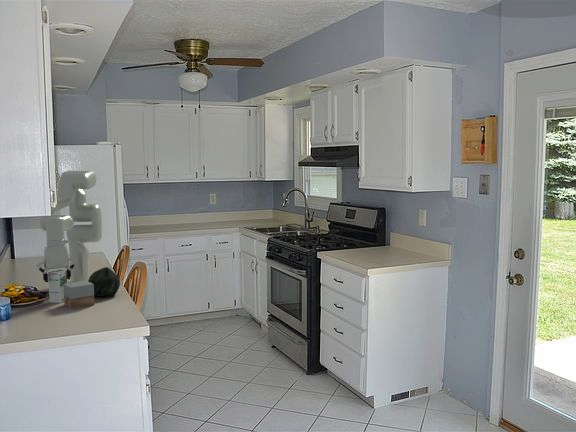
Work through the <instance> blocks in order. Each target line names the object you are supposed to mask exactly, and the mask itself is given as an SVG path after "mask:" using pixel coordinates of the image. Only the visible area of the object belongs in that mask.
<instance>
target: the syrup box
mask: <svg viewBox="0 0 576 432" xmlns="http://www.w3.org/2000/svg"><path fill="white" fill-rule="evenodd" d="M66 271H67V269H53V270H51V271H47V274H48V291H49V302H50V304H51V303H53V304H62V303H63V302H64V286H63V284H66V283H68V279H67V275H66Z"/></svg>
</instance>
